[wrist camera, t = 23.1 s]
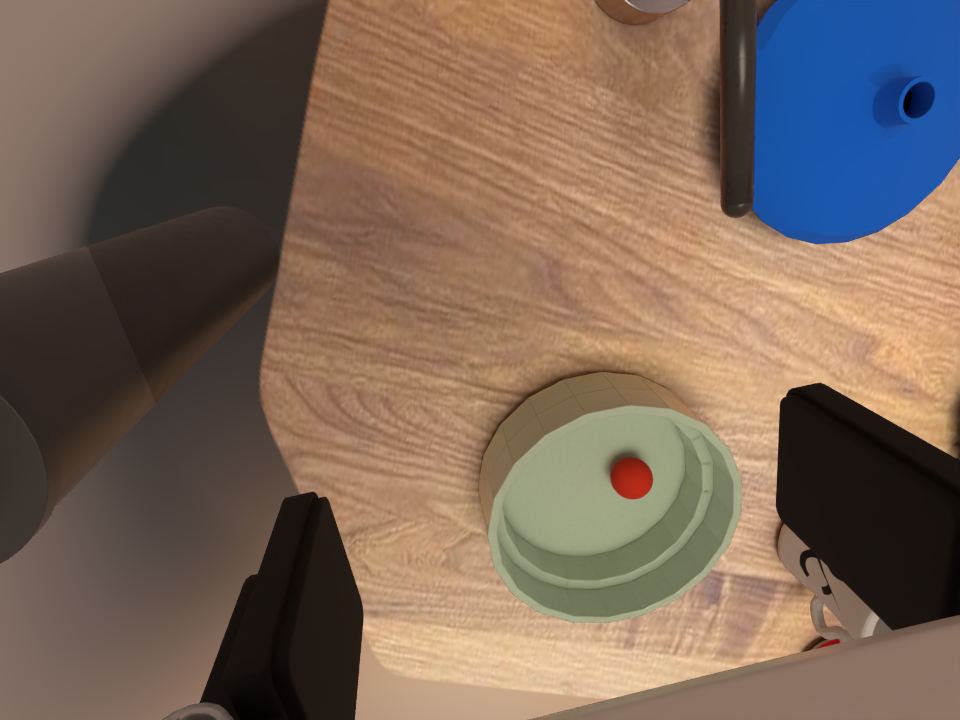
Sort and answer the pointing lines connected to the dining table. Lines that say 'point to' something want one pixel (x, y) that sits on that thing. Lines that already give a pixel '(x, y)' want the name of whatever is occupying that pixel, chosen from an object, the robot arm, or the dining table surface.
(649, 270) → the dining table surface
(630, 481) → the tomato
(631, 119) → the dining table surface
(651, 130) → the dining table surface
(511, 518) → the bowl
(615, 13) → the ladle
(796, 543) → the mug
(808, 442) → the robot arm
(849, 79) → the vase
